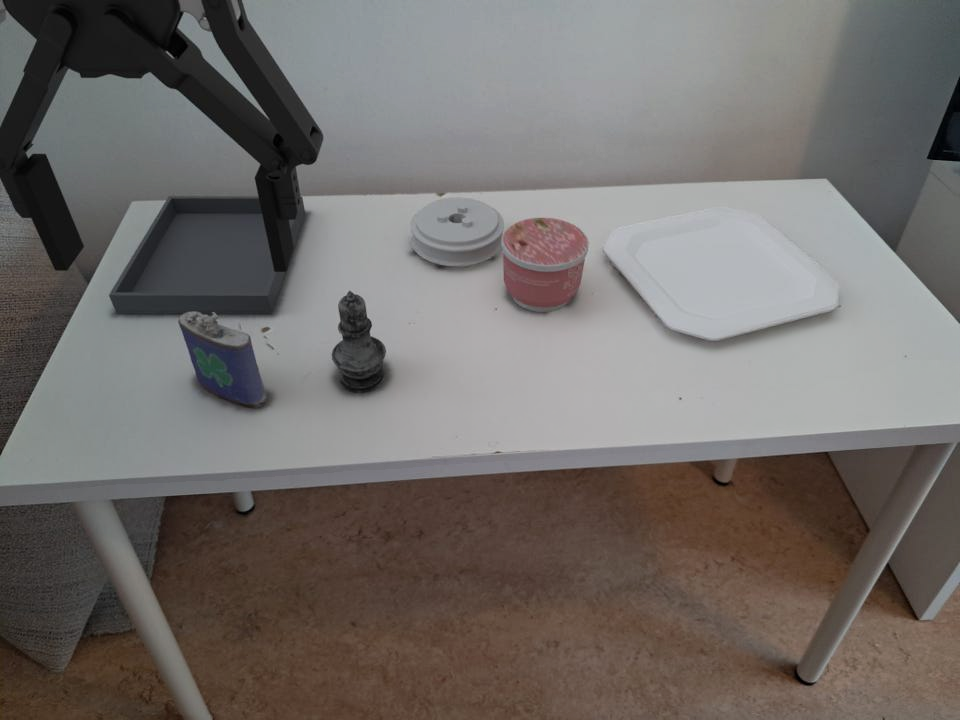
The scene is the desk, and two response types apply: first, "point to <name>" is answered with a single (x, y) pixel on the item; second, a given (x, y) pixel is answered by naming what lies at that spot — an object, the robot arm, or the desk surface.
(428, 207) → the grey pulley wheel
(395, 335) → the desk surface
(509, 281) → the container
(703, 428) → the desk surface
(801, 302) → the plate
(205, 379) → the flask
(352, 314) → the chess piece
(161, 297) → the tray
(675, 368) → the desk surface
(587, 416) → the desk surface
